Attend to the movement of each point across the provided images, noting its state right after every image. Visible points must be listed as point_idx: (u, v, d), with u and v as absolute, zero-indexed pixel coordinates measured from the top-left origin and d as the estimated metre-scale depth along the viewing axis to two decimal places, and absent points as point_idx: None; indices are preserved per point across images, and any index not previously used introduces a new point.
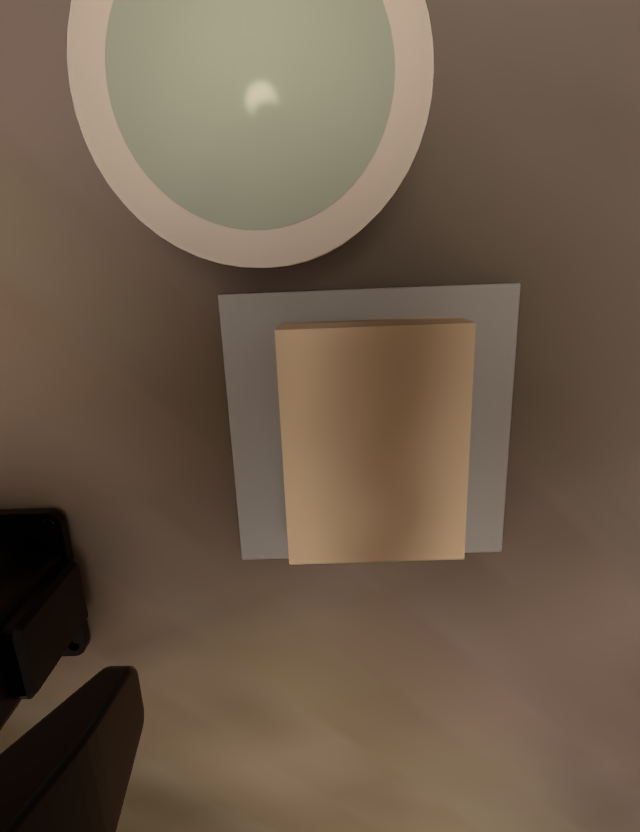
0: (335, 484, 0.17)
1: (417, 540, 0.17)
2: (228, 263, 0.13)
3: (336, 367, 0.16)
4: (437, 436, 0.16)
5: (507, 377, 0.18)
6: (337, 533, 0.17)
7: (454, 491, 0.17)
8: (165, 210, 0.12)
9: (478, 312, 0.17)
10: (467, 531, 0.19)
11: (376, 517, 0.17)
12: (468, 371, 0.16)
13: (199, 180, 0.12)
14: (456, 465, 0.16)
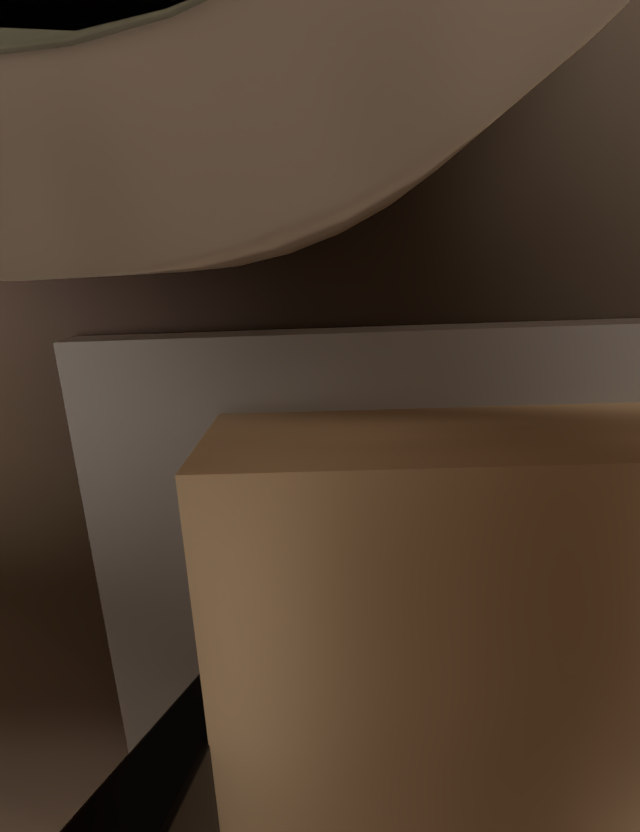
0: None
1: None
2: None
3: (371, 584, 0.05)
4: None
5: None
6: None
7: None
8: None
9: None
10: None
11: None
12: None
13: None
14: None
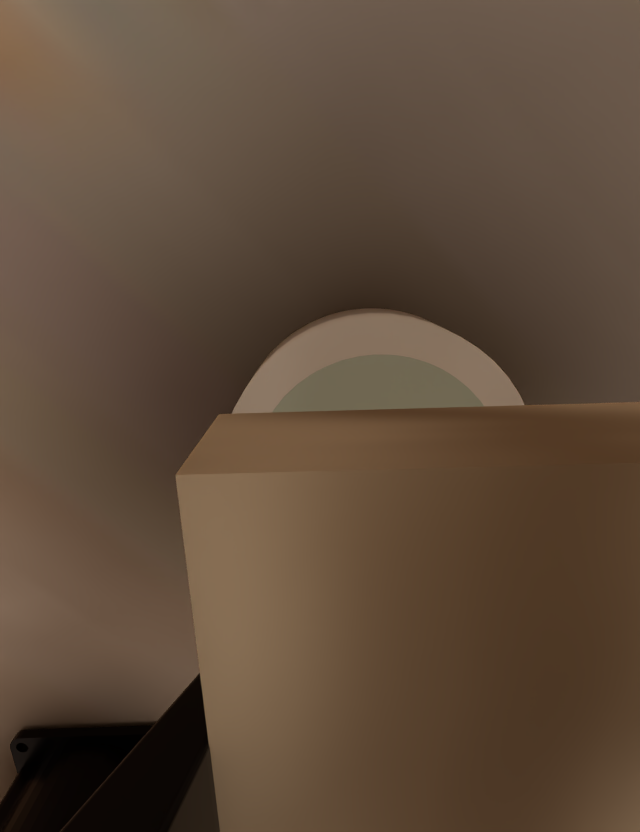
0: None
1: None
2: None
3: (371, 583, 0.05)
4: None
5: None
6: None
7: None
8: None
9: None
10: None
11: None
12: None
13: None
14: None
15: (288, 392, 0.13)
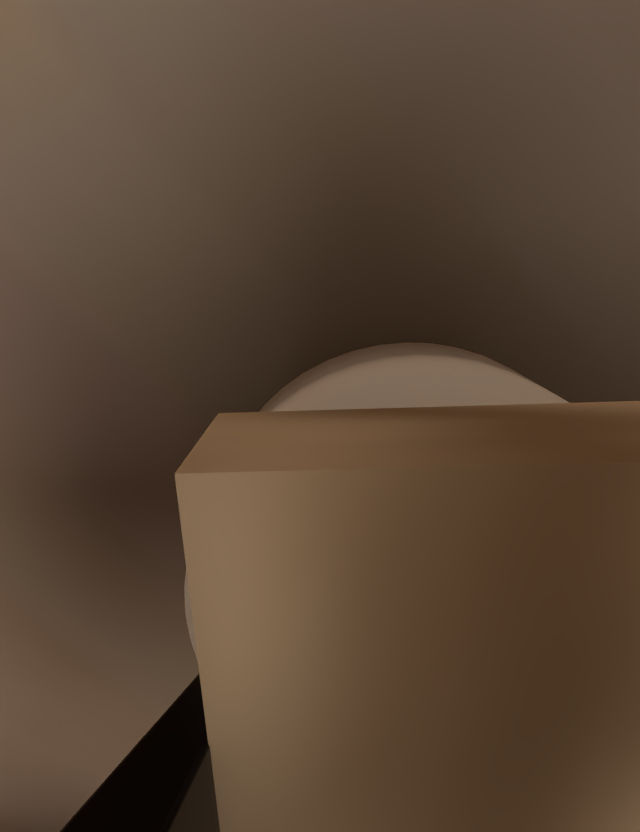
0: None
1: None
2: None
3: (370, 582, 0.05)
4: None
5: None
6: None
7: None
8: None
9: None
10: None
11: None
12: None
13: None
14: None
15: None
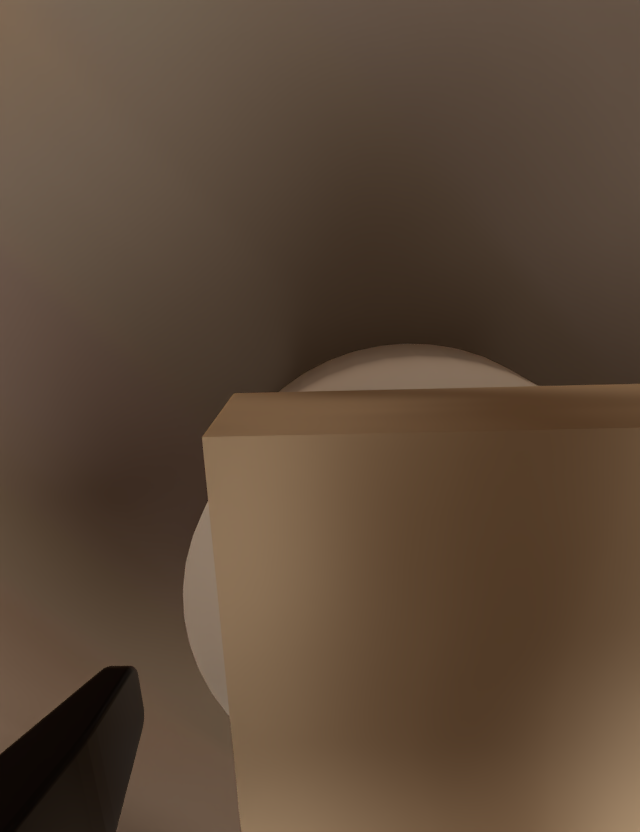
0: (355, 779, 0.07)
1: None
2: None
3: (365, 530, 0.06)
4: (609, 688, 0.07)
5: None
6: None
7: (635, 797, 0.07)
8: None
9: None
10: None
11: None
12: None
13: None
14: None
15: None
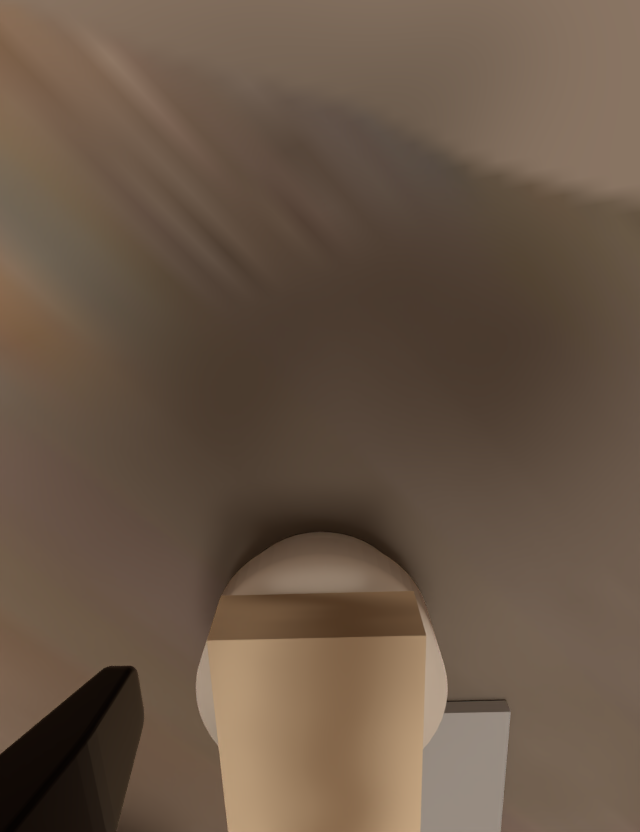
0: (277, 780, 0.15)
1: (368, 831, 0.16)
2: None
3: (275, 675, 0.14)
4: (387, 738, 0.15)
5: (501, 768, 0.23)
6: (282, 824, 0.16)
7: (407, 787, 0.15)
8: None
9: (478, 729, 0.22)
10: None
11: (323, 810, 0.16)
12: (419, 680, 0.14)
13: None
14: (408, 764, 0.15)
15: None
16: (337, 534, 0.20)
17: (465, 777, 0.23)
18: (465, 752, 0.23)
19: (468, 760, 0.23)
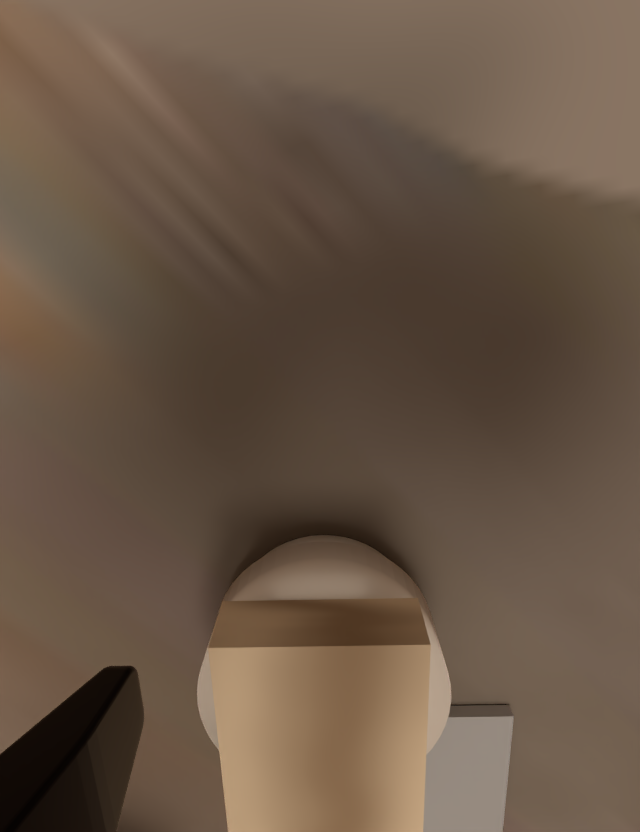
0: (279, 787, 0.15)
1: None
2: None
3: (277, 683, 0.14)
4: (390, 747, 0.15)
5: (503, 772, 0.23)
6: (283, 831, 0.16)
7: (410, 796, 0.15)
8: None
9: (481, 733, 0.22)
10: None
11: (324, 819, 0.15)
12: (423, 689, 0.14)
13: None
14: (411, 773, 0.15)
15: None
16: (340, 537, 0.20)
17: (467, 781, 0.23)
18: (467, 756, 0.23)
19: (470, 764, 0.23)
